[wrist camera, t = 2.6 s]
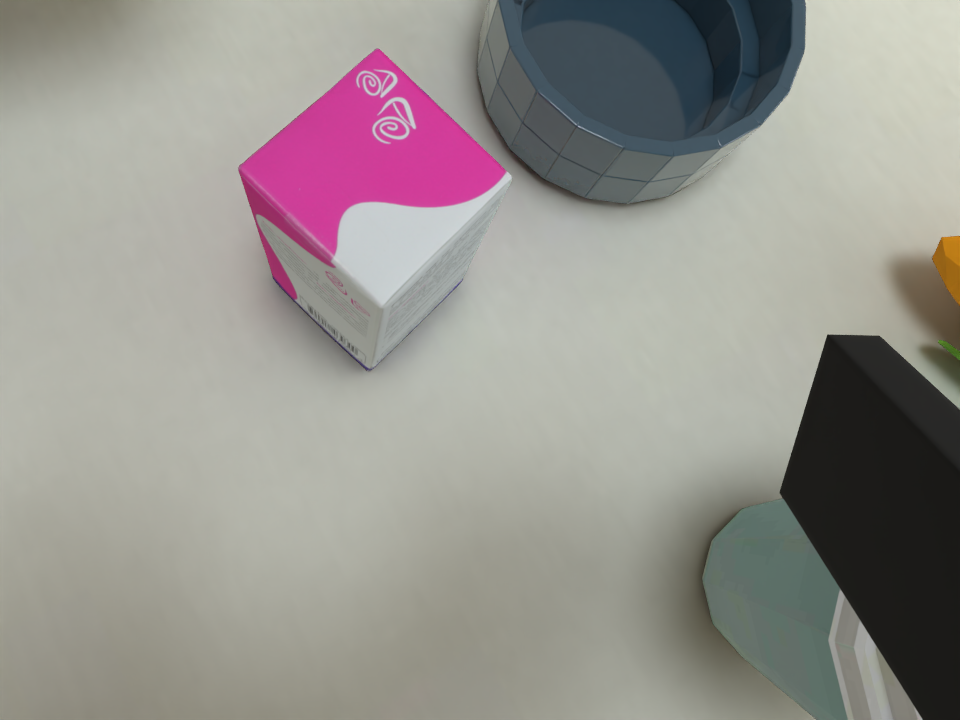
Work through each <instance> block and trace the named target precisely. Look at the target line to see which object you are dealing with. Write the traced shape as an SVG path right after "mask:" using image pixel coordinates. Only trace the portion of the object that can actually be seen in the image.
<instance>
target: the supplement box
mask: <svg viewBox="0 0 960 720" xmlns="http://www.w3.org/2000/svg"><path fill="white" fill-rule="evenodd" d="M238 170H239V173H240V176H241V179H242V182H243V185H244V188H245V192H246V195H247V198H248V201H249V204H250V207H251V210H252V213H253V216H254V219H255V222H256V225H257V228H258V232H259V235H260V238H261V241H262V244H263V247H264V250H265V253H266V256H267V259H268V262H269V265H270V268H271V272H272V275H273V279H274V280H275V281H276V283H277V284H278V285H279V286H280V287H281V288H282V289H283V290H284V291H285V292H286V293H287V294H288V295H289V296H290V297H291V298H292V299H293V300H294V301H295V302H296V303H297V304H298V305H299V306H300V307H301V308H302V309H303V310H304V311H305V312H306V313H307V314H308V315H309V316H310V317H311V318H312V319H313V320H314V321H315V322H316V323H317V324H318V325H319V326H320V327H321V328H322V329H323V330H324V331H325V332H326V333H327V334H329V335H330V336H331V337H332V338H333V339H334V340H335V341H336V342H337V343H338V344H339V345H340V346H341V347H342V348H343V349H344V350H345V351H346V352H348V353H349V354H350V355H351V356H352V357H353V358H354V359H355V360H356V361H357V362H358V363H360V364H361V365H362V366H363V367H364V368H365V369H366V370H367V371H371V370H372V369H373V368H374V367H375V366H376V365H377V364H378V363H379V362H380V361H381V360H382V359H383V358H384V357H386V356H387V355H388V354H389V353H390V352H391V351H392V350H393V349H394V348H395V347H396V346H397V345H398V344H399V343H400V342H401V341H402V340H403V339H404V338H405V337H406V336H407V335H408V334H409V333H410V332H411V331H412V330H413V329H414V328H415V327H416V326H417V325H418V324H419V323H420V322H421V321H422V320H423V319H424V318H425V317H426V316H427V315H428V314H429V313H430V312H431V311H432V310H434V309H435V308H436V307H437V306H438V305H439V304H440V303H441V302H442V301H443V300H444V299H445V298H446V297H447V296H448V295H449V294H450V293H451V292H452V291H453V290H454V289H455V288H456V287H457V286H458V285H459V284H460V282H461V281H462V280H463V277H464V275H465V273H466V271H467V269H468V267H469V264H470V262H471V260H472V258H473V256H474V254H475V253H476V251H477V249H478V247H479V245H480V243H481V241H482V238H483V236H484V235H485V233H486V231H487V229H488V227H489V225H490V223H491V221H492V219H493V217H494V215H495V213H496V211H497V209H498V207H499V205H500V203H501V201H502V199H503V197H504V195H505V193H506V191H507V189H508V187H509V185H510V183H511V181H512V176H511V175H510V174H509V173H508V172H507V171H506V170H505V169H504V168H503V167H502V166H501V165H500V164H499V163H498V162H497V161H496V160H495V159H494V158H493V157H492V156H491V155H489V154H488V153H487V152H486V151H485V150H484V149H483V148H482V147H481V146H480V145H479V144H478V143H477V142H476V141H475V140H474V139H473V138H472V137H471V136H470V135H468V134H467V133H466V132H465V131H464V130H463V129H462V128H461V127H460V126H459V125H458V124H457V123H456V122H455V121H454V120H453V119H452V118H451V117H450V116H449V115H448V114H447V113H445V112H444V111H443V110H442V109H441V108H440V107H439V106H438V105H437V104H436V103H435V102H434V101H433V100H432V99H431V98H430V97H429V96H428V95H427V94H426V93H425V92H424V91H423V90H422V89H421V88H419V87H418V86H417V85H416V84H415V83H414V82H413V81H412V80H411V79H410V78H409V77H408V76H407V75H406V74H405V73H404V72H403V71H402V70H401V69H400V68H399V67H398V66H396V65H395V64H394V63H393V62H392V61H391V60H390V59H389V58H388V57H387V56H386V55H385V54H384V53H383V52H382V51H381V50H380V49H378V48H377V49H375V50H374V51H373V52H372V53H371V54H369V55H368V56H367V57H366V58H365V59H363V60H362V61H361V62H360V63H359V64H358V65H357V66H355V67H354V68H353V69H352V70H351V71H350V72H349V73H348V74H346V75H345V76H344V77H343V78H342V79H341V80H340V81H339V82H338V83H337V84H336V85H334V86H333V87H332V88H331V89H330V90H329V91H328V92H327V93H325V94H324V95H323V96H322V97H321V98H319V99H318V100H317V101H316V102H315V103H313V104H312V105H311V106H310V107H308V108H307V109H306V110H305V111H304V112H303V113H302V114H300V115H299V116H298V117H297V118H295V119H294V120H293V121H292V122H291V123H290V124H288V125H287V126H286V127H285V128H284V129H283V130H281V131H280V132H279V133H278V134H276V135H275V136H274V137H273V138H272V139H271V140H269V141H268V142H267V143H266V144H265V145H264V146H262V147H261V148H260V149H259V150H257V151H256V152H255V153H254V154H253V155H252V156H250V157H249V158H248V159H247V160H246V161H245V162H244V163H242V164H241V165H239V167H238Z"/></svg>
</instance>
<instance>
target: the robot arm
mask: <svg viewBox="0 0 960 720" xmlns="http://www.w3.org/2000/svg"><path fill="white" fill-rule="evenodd" d="M780 494H781V496H782V497H783V499H784V500H785V502H786V504H787V505H788V507H789V508H790V510H791V512H792V513H793V515H794V516H795V518H796V520H797V521H798V523H799V524H800V526H801V527H802V529H803V531H804V532H805V534H806V535H807V537H808V539H809V540H810V542H811V543H812V545H813V546H814V548H815V550H816V551H817V553H818V554H819V556H820V558H821V559H822V561H823V562H824V564H825V565H826V567H827V569H828V570H829V572H830V573H831V575H832V577H833V578H834V580H835V581H836V583H837V585H838V586H839V588H840V589H841V591H842V592H843V594H844V596H845V597H846V599H847V600H848V602H849V604H850V605H851V607H852V608H853V610H854V611H855V613H856V615H857V616H858V618H859V619H860V621H861V623H862V624H863V626H864V627H865V629H866V631H867V632H868V634H869V635H870V637H871V638H872V640H873V642H874V643H875V645H876V646H877V648H878V650H879V651H880V653H881V654H882V656H883V657H884V659H885V661H886V662H887V664H888V665H889V667H890V669H891V670H892V672H893V673H894V675H895V677H896V678H897V680H898V681H899V683H900V684H901V686H902V688H903V689H904V691H905V692H906V694H907V696H908V697H909V699H910V700H911V702H912V703H913V705H914V707H915V708H916V710H917V711H918V713H919V715H920V716H921V718H922V719H923V720H960V410H959V409H958V408H957V407H956V406H955V405H954V404H953V403H952V402H951V401H950V400H949V399H947V398H946V397H945V396H944V395H943V394H942V393H941V392H940V391H939V390H938V389H937V388H936V387H934V386H933V385H932V384H931V383H930V382H929V381H928V380H927V379H926V378H925V377H924V376H923V375H921V374H920V373H919V372H918V371H917V370H916V369H915V368H914V367H913V366H912V365H911V364H910V363H908V362H907V361H906V360H905V359H904V358H903V357H902V356H901V355H900V354H899V353H898V352H897V351H895V350H894V349H893V348H892V347H891V346H890V345H889V344H888V343H887V342H886V341H885V340H884V339H882V338H881V337H880V336H864V335H827V338H826V341H825V344H824V348H823V351H822V354H821V358H820V361H819V364H818V368H817V371H816V374H815V377H814V381H813V384H812V387H811V391H810V394H809V397H808V401H807V404H806V407H805V410H804V414H803V417H802V420H801V424H800V427H799V430H798V433H797V437H796V440H795V443H794V447H793V450H792V453H791V457H790V460H789V463H788V466H787V470H786V473H785V476H784V480H783V483H782V486H781V490H780Z"/></svg>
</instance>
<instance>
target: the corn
mask: <svg viewBox="0 0 960 720" xmlns="http://www.w3.org/2000/svg"><path fill="white" fill-rule="evenodd" d="M932 260H933V262H934V264H935V266H936V268H937V270H938V272H939V274H940V276H941V278H942V280H943V282H944V284H945V286H946V288H947V290H948V291H949V292H950V294H951V295H952V296H953V298H954V299H955V300H956V302H957V303H958V305H959V306H960V236H953V237H942V238H941V240H940V242H939V244H938V247H937V249H936V251H935V253H934V255H933V258H932ZM938 343H939V344H940V345H942V346H943V347H944V348H945V349H946V350H948V351H949V352H950V353H951V354H952V355H954V356H955V357H956V358H957V359H958V360H960V351H959V350H957V349H956V348H954V347H953V346H951V345H950V344H949V343H947V342H946V341H942V340H939V341H938Z"/></svg>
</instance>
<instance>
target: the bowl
mask: <svg viewBox="0 0 960 720" xmlns="http://www.w3.org/2000/svg"><path fill="white" fill-rule="evenodd" d="M805 5H806V3H805V0H489V1H488V4H487V8H486V12H485V15H484V19H483V22H482V26H481V30H480V41H479V52H478V63H477V68H478V69H477V72H478V76H479V80H480V84H481V88H482V92H483V97H484V101H485V105H486V109H487V112H488V114H489V115H490V117H491V119H492V120H493V122H494V124H495V125H496V127H497V129H498V130H499V132H500V133H501V135H502V137H503V138H504V140H505V142H506V143H507V145H508V147H509V148H510V149H511V150H512V151H513V152H514V153H515V154H516V155H517V156H518V157H519V158H520V159H522V160H523V161H524V162H525V163H526V164H527V165H528V166H529V167H531V168H532V169H533V170H534V171H535V172H536V173H537V174H538V175H540V176H541V177H542V178H543V179H544V178H545V180H547V181H549V182H552V183H554V184H556V185H558V186H560V187H562V188H565V189H567V190H569V191H571V192H573V193H575V194H577V195H580V196H582V197H585V198H588V199H595V200H603V201H610V202H617V203H625V204H627V203H634V202H640V201H645V200H651V199H656V198H661V197H667V196H670V195H672V194H673V193H675V192H677V191H679V190H681V189H682V188H684V187H686V186H688V185H689V184H691V183H693V182H695V181H696V180H698V179H700V178H702V177H703V176H704V175H705V174H706V173H708V172H709V171H710V170H711V169H712V168H713V167H714V166H716V165H717V164H718V163H719V162H720V161H721V160H722V159H724V158H725V157H726V156H727V155H728V154H729V153H730V152H732V151H733V150H734V149H735V148H736V147H737V146H738V145H740V144H741V143H742V142H743V141H744V140H745V139H746V138H748V137H749V136H750V135H751V134H752V133H753V132H754V131H756V130H757V129H758V128H759V127H760V126H761V125H762V124H763V123H764V122H765V121H766V119H767V118H768V117H769V116H770V115H771V114H772V112H773V111H774V110H775V109H776V108H777V107H778V105H779V104H780V103H781V102H782V101H783V99H784V98H785V97H786V96H787V95H788V94H789V91H790V89H791V87H792V84H793V81H794V79H795V76H796V73H797V71H798V68H799V65H800V62H801V60H802V57H803V54H804V50H805V25H806V6H805Z"/></svg>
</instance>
